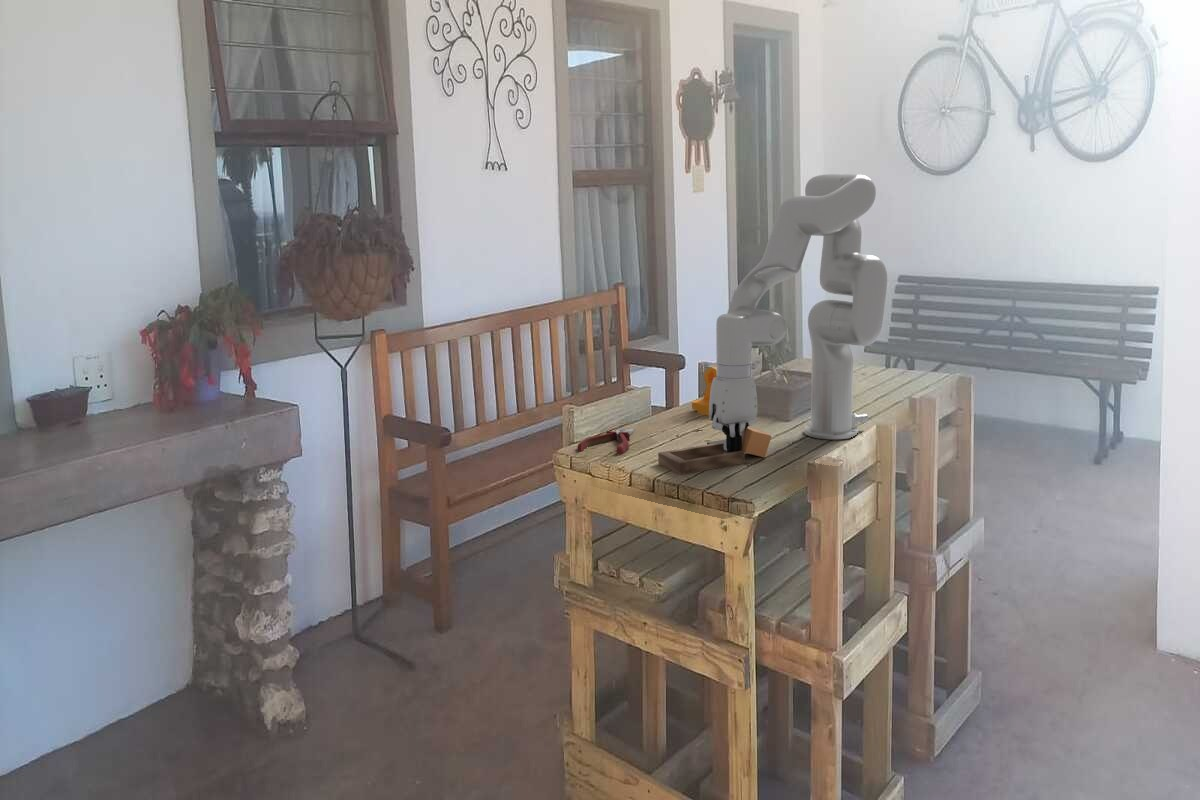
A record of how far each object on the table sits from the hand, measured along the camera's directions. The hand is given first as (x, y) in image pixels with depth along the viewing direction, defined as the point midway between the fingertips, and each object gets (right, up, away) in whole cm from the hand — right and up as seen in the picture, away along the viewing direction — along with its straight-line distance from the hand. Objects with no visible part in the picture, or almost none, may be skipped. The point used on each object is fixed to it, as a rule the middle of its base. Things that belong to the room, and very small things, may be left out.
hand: (734, 452), depth 229 cm
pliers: (-25, +1, +15) cm, 29 cm away
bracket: (0, +8, +42) cm, 42 cm away
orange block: (+4, 0, +1) cm, 4 cm away
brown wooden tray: (-7, -2, -3) cm, 8 cm away
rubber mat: (+1, +1, +9) cm, 9 cm away
